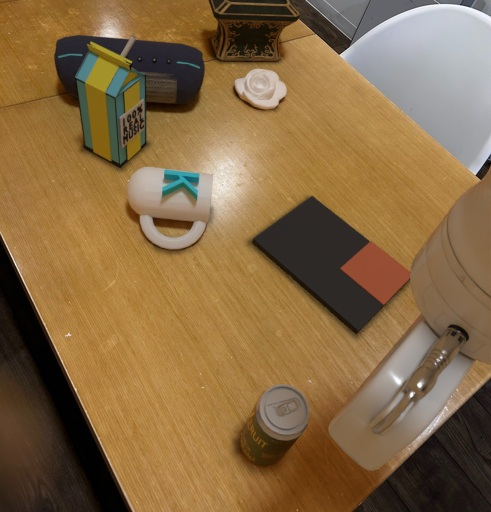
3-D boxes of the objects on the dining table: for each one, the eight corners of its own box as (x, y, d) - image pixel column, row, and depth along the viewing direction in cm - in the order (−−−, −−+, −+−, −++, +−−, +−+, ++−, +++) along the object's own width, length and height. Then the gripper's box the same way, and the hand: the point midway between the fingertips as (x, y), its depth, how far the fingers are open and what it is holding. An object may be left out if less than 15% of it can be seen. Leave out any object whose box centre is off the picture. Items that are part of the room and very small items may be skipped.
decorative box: (277, 37, 108) (299, -62, 92) (289, 63, 103) (314, -37, 87) (186, 35, 103) (192, -70, 87) (193, 63, 98) (202, -43, 82)
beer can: (271, 413, 59) (295, 373, 50) (293, 456, 57) (322, 423, 47) (231, 431, 57) (247, 393, 48) (251, 476, 55) (273, 447, 45)
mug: (126, 150, 67) (215, 161, 68) (132, 175, 76) (210, 184, 77) (115, 234, 64) (207, 243, 66) (122, 249, 73) (203, 257, 74)
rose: (285, 60, 95) (294, 92, 90) (280, 80, 99) (289, 111, 93) (234, 57, 93) (240, 89, 88) (231, 77, 97) (236, 109, 91)
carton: (151, 142, 83) (151, 42, 68) (121, 168, 78) (115, 67, 64) (114, 123, 84) (107, 21, 70) (84, 148, 80) (69, 44, 65)
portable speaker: (56, 108, 84) (46, 55, 76) (62, 73, 90) (53, 20, 82) (203, 117, 89) (209, 68, 81) (200, 83, 94) (205, 33, 86)
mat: (410, 278, 74) (413, 274, 73) (356, 334, 67) (359, 330, 66) (310, 199, 81) (312, 194, 80) (251, 242, 74) (253, 237, 73)
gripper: (462, 463, 21) (354, 514, 32) (605, 226, 32) (487, 326, 43) (346, 362, 23) (282, 443, 34) (518, 170, 34) (426, 279, 45)
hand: (397, 377), depth 39 cm, fingers open, 8 cm apart
